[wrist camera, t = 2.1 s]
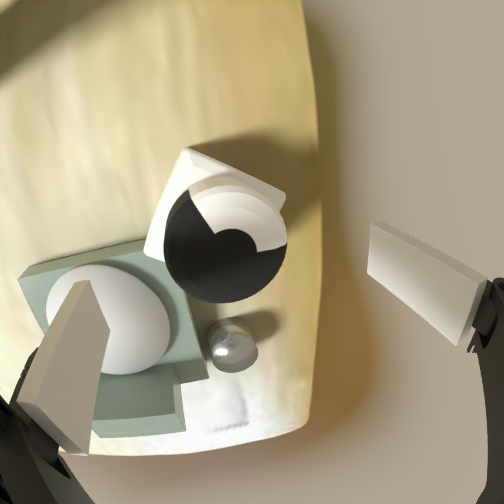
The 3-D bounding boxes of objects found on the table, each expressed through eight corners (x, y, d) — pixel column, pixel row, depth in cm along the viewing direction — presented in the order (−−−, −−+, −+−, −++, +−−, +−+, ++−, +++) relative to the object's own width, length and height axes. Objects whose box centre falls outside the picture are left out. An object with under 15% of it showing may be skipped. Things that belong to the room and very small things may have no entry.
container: (224, 250, 27) (262, 333, 16) (150, 223, 24) (131, 296, 13) (258, 179, 26) (328, 215, 14) (183, 145, 23) (189, 147, 11)
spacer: (203, 322, 30) (208, 345, 27) (246, 313, 31) (255, 334, 28) (211, 353, 32) (217, 376, 29) (251, 344, 33) (259, 366, 30)
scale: (29, 266, 22) (-15, 318, 13) (172, 233, 25) (171, 284, 16) (89, 381, 29) (79, 441, 20) (206, 364, 33) (221, 429, 24)
